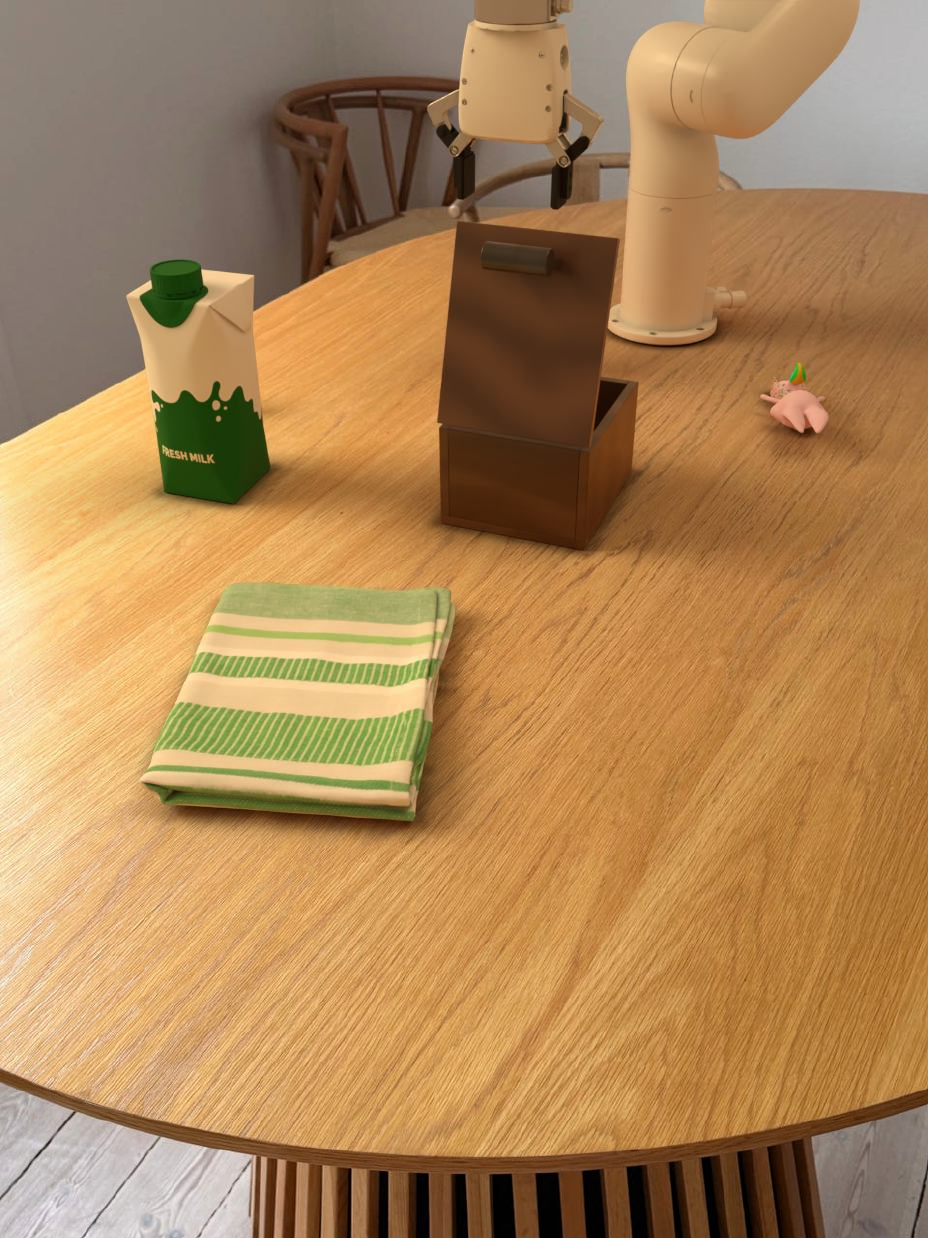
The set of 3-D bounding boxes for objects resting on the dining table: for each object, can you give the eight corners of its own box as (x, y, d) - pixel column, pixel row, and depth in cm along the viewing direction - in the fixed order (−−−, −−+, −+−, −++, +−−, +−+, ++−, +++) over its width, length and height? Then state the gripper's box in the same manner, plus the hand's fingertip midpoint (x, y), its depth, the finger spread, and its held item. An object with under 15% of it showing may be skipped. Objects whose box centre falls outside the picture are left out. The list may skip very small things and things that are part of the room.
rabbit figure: (751, 406, 124) (772, 449, 111) (758, 348, 122) (780, 384, 108) (813, 408, 124) (842, 451, 110) (821, 349, 121) (851, 386, 108)
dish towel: (458, 610, 91) (457, 579, 90) (424, 829, 72) (423, 795, 70) (225, 601, 93) (220, 570, 91) (130, 813, 73) (123, 779, 72)
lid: (460, 220, 93) (435, 217, 88) (620, 238, 89) (602, 235, 84) (440, 421, 97) (415, 428, 93) (591, 446, 94) (572, 454, 89)
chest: (500, 450, 113) (501, 361, 108) (631, 472, 110) (638, 381, 105) (440, 523, 102) (438, 427, 97) (584, 550, 98) (589, 452, 93)
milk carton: (149, 496, 107) (110, 270, 95) (200, 452, 114) (169, 237, 102) (238, 511, 104) (209, 282, 93) (285, 465, 111) (263, 247, 100)
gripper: (619, 6, 110) (607, 200, 120) (443, -3, 115) (444, 183, 125) (596, 18, 104) (585, 220, 114) (411, 8, 109) (415, 202, 119)
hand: (511, 200), depth 119 cm, fingers open, 9 cm apart
